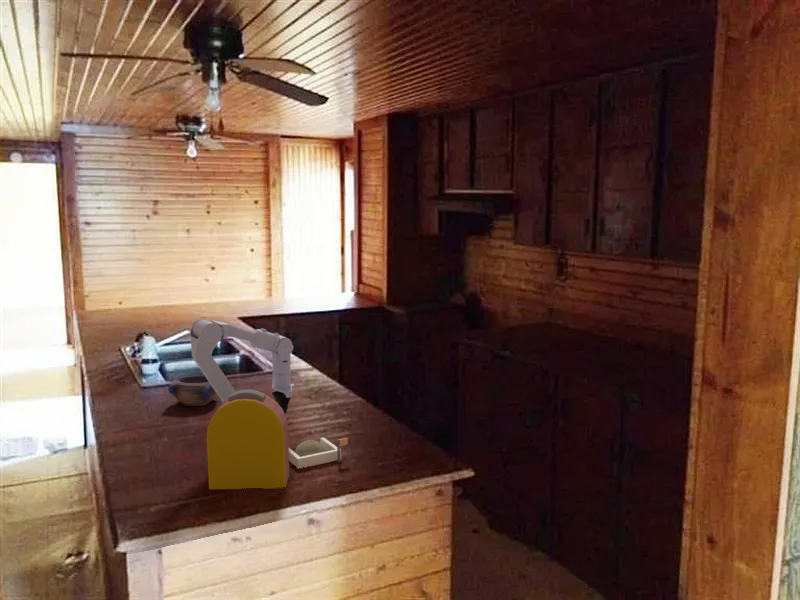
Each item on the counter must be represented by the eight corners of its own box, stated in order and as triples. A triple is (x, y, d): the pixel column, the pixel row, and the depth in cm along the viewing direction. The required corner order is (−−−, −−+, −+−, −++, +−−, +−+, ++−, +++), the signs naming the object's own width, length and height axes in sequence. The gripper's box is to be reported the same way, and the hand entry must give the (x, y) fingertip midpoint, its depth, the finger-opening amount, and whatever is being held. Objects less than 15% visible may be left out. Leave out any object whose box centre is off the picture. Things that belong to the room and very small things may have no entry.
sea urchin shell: (297, 459, 200) (294, 434, 205) (296, 470, 206) (293, 446, 211) (328, 456, 203) (324, 431, 207) (325, 466, 209) (322, 443, 213)
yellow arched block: (289, 474, 194) (287, 385, 190) (285, 488, 185) (282, 395, 181) (216, 475, 193) (212, 386, 189) (208, 489, 184) (203, 396, 180)
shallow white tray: (300, 471, 196) (300, 448, 195) (282, 454, 209) (281, 433, 208) (348, 460, 204) (348, 438, 203) (328, 445, 216) (327, 424, 215)
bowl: (227, 396, 270) (226, 372, 268) (210, 410, 252) (209, 384, 251) (184, 395, 272) (183, 371, 270) (164, 409, 254) (163, 383, 252)
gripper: (301, 376, 213) (302, 417, 215) (285, 366, 225) (286, 405, 227) (280, 379, 209) (281, 421, 211) (265, 369, 222) (266, 408, 224)
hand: (282, 413), depth 219 cm, fingers closed
